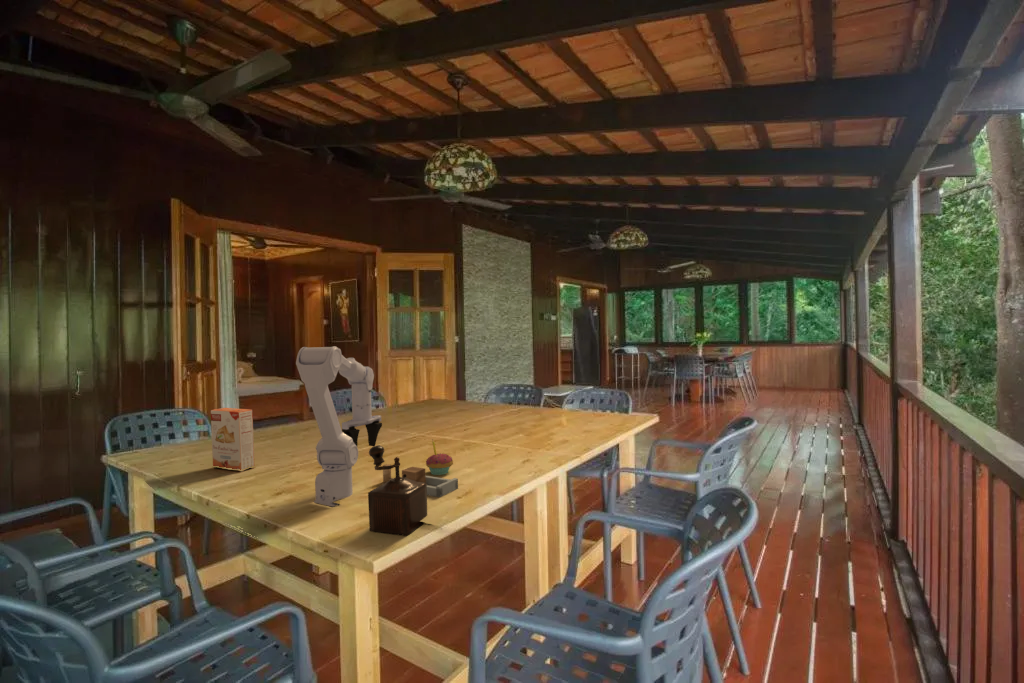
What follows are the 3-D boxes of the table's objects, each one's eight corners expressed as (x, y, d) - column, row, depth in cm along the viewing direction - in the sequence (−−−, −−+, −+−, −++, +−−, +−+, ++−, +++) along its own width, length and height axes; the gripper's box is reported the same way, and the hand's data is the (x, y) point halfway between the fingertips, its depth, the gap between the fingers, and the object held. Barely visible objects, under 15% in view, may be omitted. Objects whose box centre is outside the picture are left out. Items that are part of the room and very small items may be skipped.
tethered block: (415, 489, 142) (415, 472, 142) (379, 483, 149) (378, 466, 149) (425, 485, 146) (425, 468, 146) (389, 479, 153) (389, 463, 153)
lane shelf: (435, 503, 134) (435, 488, 133) (386, 494, 142) (385, 480, 142) (461, 490, 144) (461, 476, 144) (413, 482, 153) (413, 469, 153)
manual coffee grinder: (430, 518, 123) (428, 446, 122) (407, 536, 112) (404, 457, 112) (376, 512, 128) (374, 443, 128) (349, 529, 117) (347, 453, 117)
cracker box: (211, 469, 174) (209, 409, 174) (227, 464, 180) (225, 407, 179) (240, 472, 169) (237, 411, 168) (255, 468, 174) (253, 408, 174)
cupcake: (427, 481, 154) (426, 442, 154) (425, 473, 162) (424, 437, 162) (455, 478, 156) (454, 440, 156) (451, 471, 164) (450, 435, 164)
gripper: (352, 409, 146) (354, 455, 147) (387, 402, 159) (389, 444, 159) (336, 407, 150) (337, 452, 150) (371, 401, 162) (373, 442, 163)
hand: (363, 448), depth 155 cm, fingers open, 7 cm apart
